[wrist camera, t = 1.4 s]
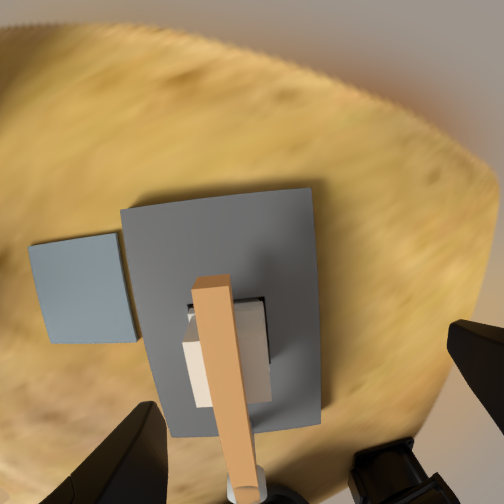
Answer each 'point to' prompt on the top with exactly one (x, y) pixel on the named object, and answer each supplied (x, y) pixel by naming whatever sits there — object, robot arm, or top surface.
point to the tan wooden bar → (227, 386)
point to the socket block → (243, 286)
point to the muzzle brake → (282, 495)
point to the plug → (251, 353)
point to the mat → (83, 290)
